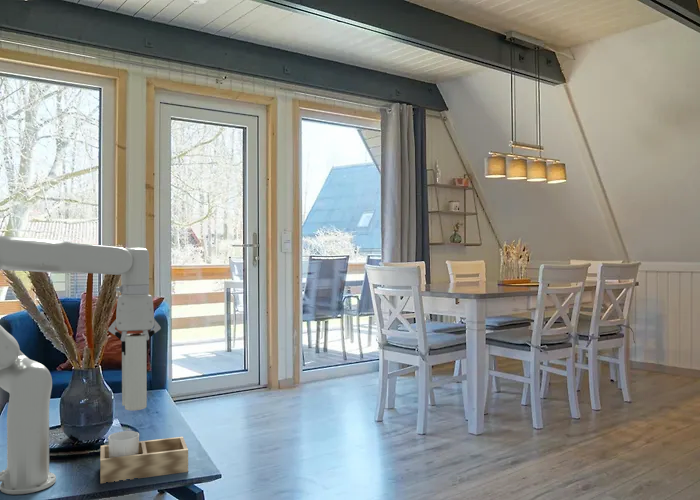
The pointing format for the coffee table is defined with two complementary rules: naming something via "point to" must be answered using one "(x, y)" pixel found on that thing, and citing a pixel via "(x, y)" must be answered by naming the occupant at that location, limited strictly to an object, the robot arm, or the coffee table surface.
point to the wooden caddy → (146, 460)
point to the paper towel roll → (134, 372)
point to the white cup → (123, 444)
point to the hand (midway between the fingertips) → (134, 353)
